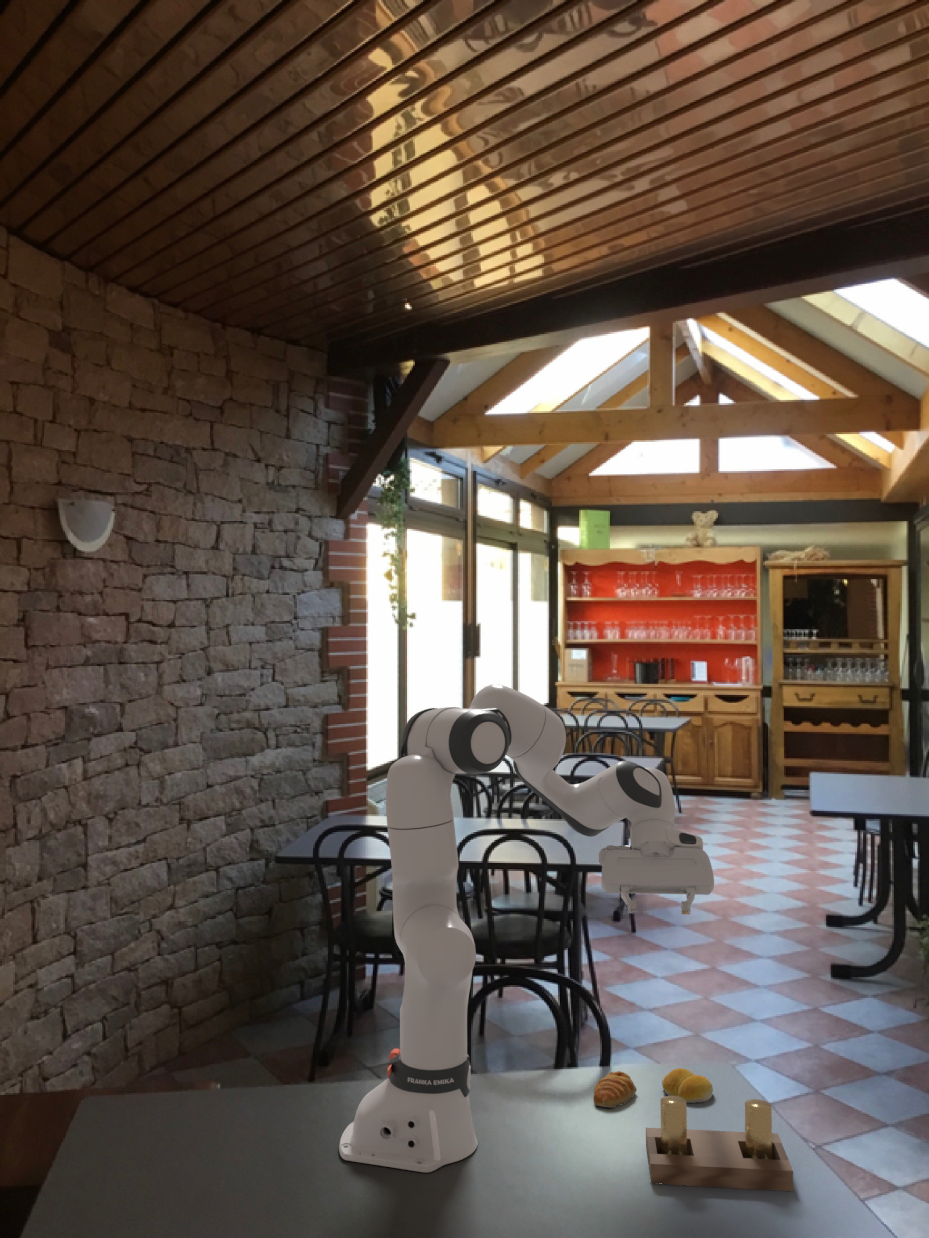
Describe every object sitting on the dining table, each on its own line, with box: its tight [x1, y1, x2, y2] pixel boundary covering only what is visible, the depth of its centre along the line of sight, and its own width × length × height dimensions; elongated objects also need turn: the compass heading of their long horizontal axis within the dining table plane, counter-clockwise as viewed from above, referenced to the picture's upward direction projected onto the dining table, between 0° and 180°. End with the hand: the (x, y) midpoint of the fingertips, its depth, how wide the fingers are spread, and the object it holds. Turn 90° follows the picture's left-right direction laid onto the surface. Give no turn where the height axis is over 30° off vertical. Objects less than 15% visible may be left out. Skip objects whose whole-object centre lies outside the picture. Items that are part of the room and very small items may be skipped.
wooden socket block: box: [645, 1127, 794, 1192], centre depth 162 cm, size 21×12×3 cm, turn 84°
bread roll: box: [661, 1068, 714, 1104], centre depth 189 cm, size 8×9×4 cm
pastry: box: [593, 1070, 637, 1109], centre depth 187 cm, size 9×7×4 cm
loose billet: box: [660, 1095, 688, 1155], centre depth 163 cm, size 4×4×10 cm
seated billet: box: [744, 1098, 773, 1160], centre depth 161 cm, size 4×4×10 cm
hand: (659, 912), depth 184 cm, fingers open, 8 cm apart
